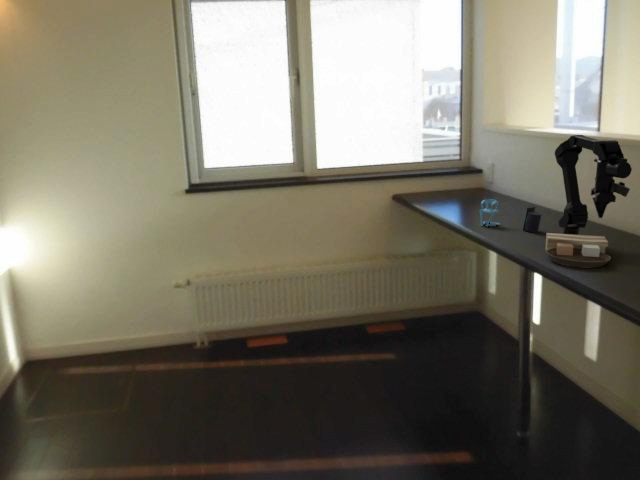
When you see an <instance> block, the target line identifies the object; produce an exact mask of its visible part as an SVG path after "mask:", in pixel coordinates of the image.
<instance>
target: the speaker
mask: <svg viewBox="0 0 640 480" xmlns="http://www.w3.org/2000/svg"><path fill="white" fill-rule="evenodd" d="M541 219H542V213H541V212H539V211H536V206H532V207H527V208H526V214H525V218H524V223H523V228H522V231H523V232H524V231H526V232H529V233H538V232H539V228H540V223H541Z"/></svg>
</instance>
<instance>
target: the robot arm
mask: <svg viewBox="0 0 640 480" xmlns="http://www.w3.org/2000/svg"><path fill="white" fill-rule="evenodd" d="M583 149H584V150H585V149H586V150H589V151H592V153H593V154H594V155H596V156H597V157H596V158H594V160H593V162H595V163H596V172H595V177H594V182H595V183H594V187H592V188H591V189H590V194H589V195H591V196H594V197H592V200H593V201H592V202H593V204H594V207H595V210H596V213H597V217H598V219H603V217H604V214H605V211H606V208H607V207H608V205H609V204H611V203H615V202H616V198H617V196H616V195H615V194H614V193H616V194H618V195H620V196H623V197H624V198H627V196H628V194H629V193H630V190H631V188H629V187H628V186H626V183H624V182H623V181H619V182H616V180H615V179H614V178H617V179H627V178H628V177H629V176H630V175H631V173H632V167H631V166H632V165H631V164H630V163H629V162H628V158H625V156H624V153H623V150H622V149H621V146H620V144H619V141H618V140H611V139H610V140H607V139H606V140H601V139H596V138H592V137H590V136H586V135H583V134H573V135H571V136H569V138H568V139H566V140H564V141H563V142H561V143H560V144H559V145H558V146H557V148H556V149H555V150H554V156H555V161H556V164H558V166H559V167H560V168H561V169H562V170H561V171H562V176H563V177H562V178H563V179H562V180H563V185H564V192H565V198H566V205H565V207H564V209H563V215H562V217H560V218H559V220H558V227H560V228H563V234H573V235H580V228H582V229H585V228H586V226H587V223H588V220H589V212H588V206H587V204H583V202H582V201H581V197H580V189H579V181H578V176H577V175H578V174H577V168H576V165H577V164H578V162H579V158H580V157H579V155H580V154H581V153H582V152H583Z"/></svg>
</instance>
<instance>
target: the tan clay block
mask: <svg viewBox="0 0 640 480" xmlns="http://www.w3.org/2000/svg"><path fill="white" fill-rule="evenodd" d="M556 252H557V255H571V256H573V245H572V244H563V243H557V249H556Z"/></svg>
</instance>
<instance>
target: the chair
mask: <svg viewBox="0 0 640 480" xmlns="http://www.w3.org/2000/svg"><path fill="white" fill-rule="evenodd" d="M484 204H486V205H485V206H486V207H485V208H484V206H483V205H484ZM489 204H490V206H491V207H490V208H489ZM480 206H481V209H479V210H478V212H479V214H480V227H484V226H485V227H486V226H487V227H486V228H488V226H490V227H497V226H496V225H498V226H500V225H501V223H500V222H493V221H492V219H493V217H494V215H495V214H497V213H499V212H500V209H498V206H499V202H498V200H496V199H494V198H489V199H483V200H482V201H481V202H480ZM493 206H495V209H493V208H494V207H493ZM484 213H485V214H486V213H488V214H490V217H489V219H488V221H487V220H485V221H484ZM489 223H490V224H489ZM484 224H485V225H484ZM483 225H484V226H483Z"/></svg>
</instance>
